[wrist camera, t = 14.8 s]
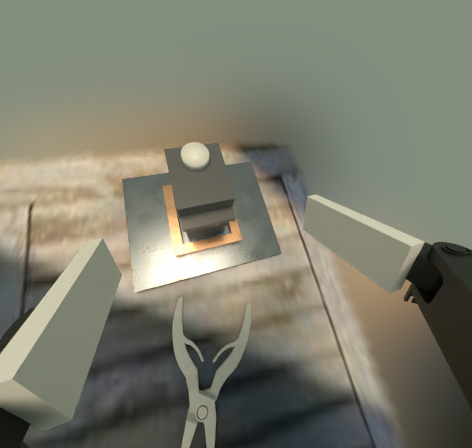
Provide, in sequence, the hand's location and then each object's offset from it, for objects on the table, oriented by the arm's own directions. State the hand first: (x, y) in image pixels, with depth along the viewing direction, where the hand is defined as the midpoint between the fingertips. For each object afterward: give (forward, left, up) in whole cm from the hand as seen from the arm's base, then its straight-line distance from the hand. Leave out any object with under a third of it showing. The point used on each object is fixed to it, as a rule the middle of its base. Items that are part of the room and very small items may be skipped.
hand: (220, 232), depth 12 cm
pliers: (-4, -12, -15) cm, 20 cm away
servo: (0, +6, -14) cm, 15 cm away
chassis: (0, +6, -15) cm, 16 cm away
